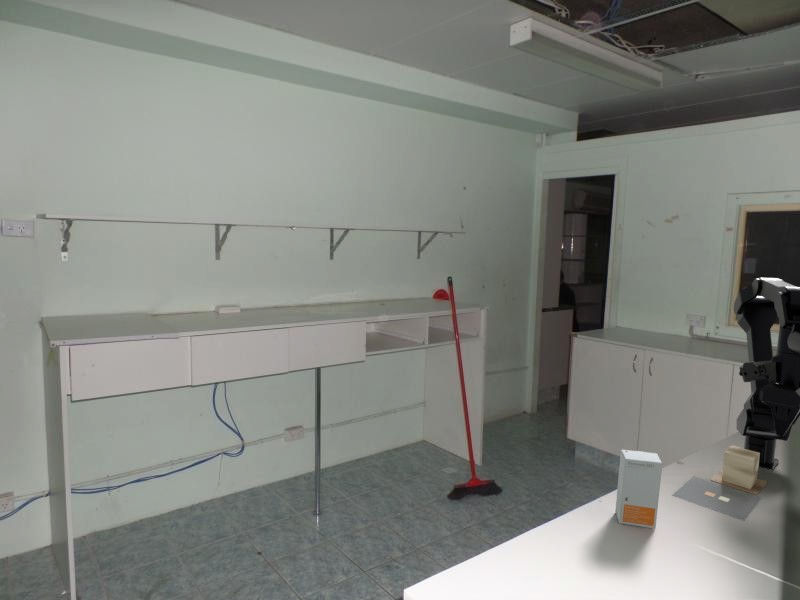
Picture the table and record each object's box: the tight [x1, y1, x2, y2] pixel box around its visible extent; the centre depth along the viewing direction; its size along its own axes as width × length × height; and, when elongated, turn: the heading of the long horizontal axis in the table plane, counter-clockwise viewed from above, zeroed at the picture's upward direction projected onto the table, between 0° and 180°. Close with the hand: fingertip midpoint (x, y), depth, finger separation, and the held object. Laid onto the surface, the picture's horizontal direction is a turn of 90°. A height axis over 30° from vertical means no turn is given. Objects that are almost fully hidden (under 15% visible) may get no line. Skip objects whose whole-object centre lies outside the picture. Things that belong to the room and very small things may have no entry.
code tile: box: [671, 475, 763, 522], centre depth 101 cm, size 12×12×1 cm
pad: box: [710, 468, 768, 496], centre depth 107 cm, size 8×8×1 cm
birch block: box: [722, 445, 760, 489], centre depth 107 cm, size 5×5×6 cm
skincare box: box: [615, 449, 663, 530], centre depth 91 cm, size 6×4×12 cm
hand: (785, 429), depth 104 cm, fingers open, 9 cm apart
